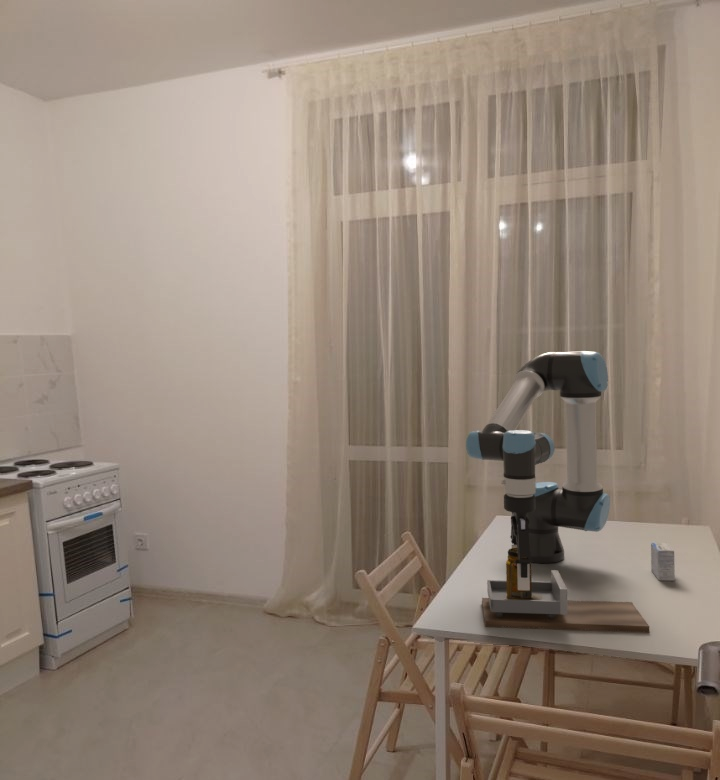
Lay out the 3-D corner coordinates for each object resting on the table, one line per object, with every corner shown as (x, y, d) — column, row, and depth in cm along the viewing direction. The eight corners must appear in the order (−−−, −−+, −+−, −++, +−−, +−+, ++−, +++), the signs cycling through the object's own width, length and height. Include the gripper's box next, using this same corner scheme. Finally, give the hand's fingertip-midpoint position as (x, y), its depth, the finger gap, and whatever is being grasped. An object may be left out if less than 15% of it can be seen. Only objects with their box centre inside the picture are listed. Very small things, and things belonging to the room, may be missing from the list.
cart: (487, 597, 162) (487, 568, 162) (557, 599, 160) (557, 570, 159) (490, 618, 149) (490, 587, 149) (567, 621, 147) (567, 589, 146)
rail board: (482, 603, 163) (482, 597, 163) (631, 608, 158) (631, 602, 157) (485, 626, 149) (485, 620, 149) (649, 632, 144) (649, 626, 144)
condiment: (508, 591, 159) (507, 545, 158) (542, 595, 156) (542, 548, 155) (502, 602, 152) (501, 553, 152) (538, 607, 149) (537, 557, 148)
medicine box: (675, 581, 175) (675, 551, 174) (657, 580, 176) (657, 550, 175) (667, 571, 183) (667, 542, 182) (650, 571, 183) (650, 542, 183)
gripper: (499, 483, 166) (500, 562, 167) (508, 506, 141) (509, 598, 142) (528, 483, 165) (529, 563, 166) (542, 506, 140) (543, 599, 141)
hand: (520, 579), depth 154 cm, fingers open, 13 cm apart
